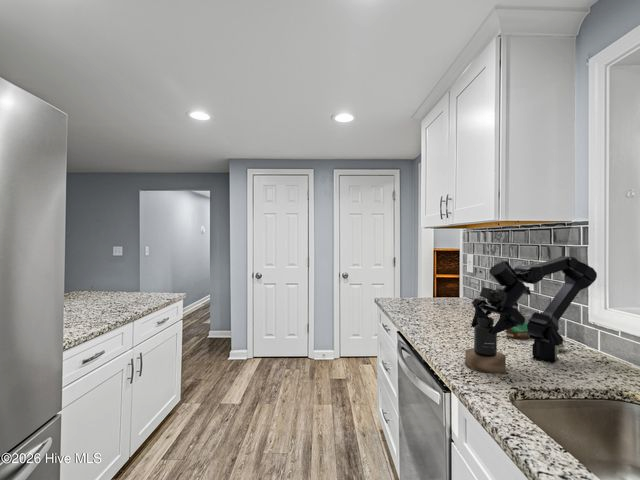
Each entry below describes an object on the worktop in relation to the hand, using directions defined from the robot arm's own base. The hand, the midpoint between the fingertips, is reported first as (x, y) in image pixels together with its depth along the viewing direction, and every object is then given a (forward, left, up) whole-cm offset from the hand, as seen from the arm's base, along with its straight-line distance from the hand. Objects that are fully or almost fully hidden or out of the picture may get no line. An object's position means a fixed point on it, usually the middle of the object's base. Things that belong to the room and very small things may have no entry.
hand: (481, 330), depth 113 cm
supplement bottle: (-1, -1, -8) cm, 8 cm away
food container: (+1, -45, -12) cm, 47 cm away
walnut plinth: (-1, -1, -12) cm, 12 cm away
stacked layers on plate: (-12, -37, -13) cm, 41 cm away
